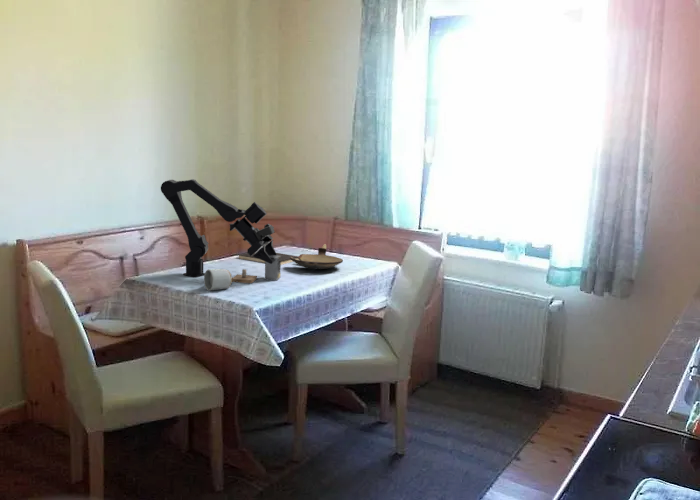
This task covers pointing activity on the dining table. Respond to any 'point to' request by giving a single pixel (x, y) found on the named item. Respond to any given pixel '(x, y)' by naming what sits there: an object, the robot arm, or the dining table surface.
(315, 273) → the dining table surface
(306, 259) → the oil lamp
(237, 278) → the post base
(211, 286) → the ceramic mug
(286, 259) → the hardcover book
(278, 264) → the grey cardboard box
